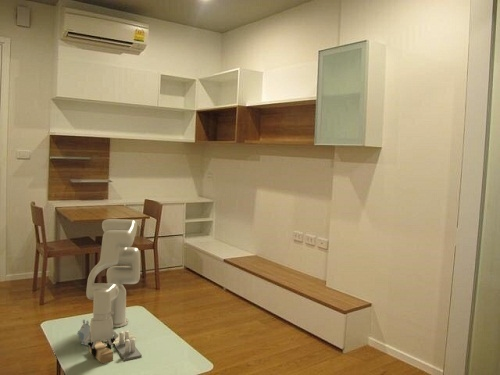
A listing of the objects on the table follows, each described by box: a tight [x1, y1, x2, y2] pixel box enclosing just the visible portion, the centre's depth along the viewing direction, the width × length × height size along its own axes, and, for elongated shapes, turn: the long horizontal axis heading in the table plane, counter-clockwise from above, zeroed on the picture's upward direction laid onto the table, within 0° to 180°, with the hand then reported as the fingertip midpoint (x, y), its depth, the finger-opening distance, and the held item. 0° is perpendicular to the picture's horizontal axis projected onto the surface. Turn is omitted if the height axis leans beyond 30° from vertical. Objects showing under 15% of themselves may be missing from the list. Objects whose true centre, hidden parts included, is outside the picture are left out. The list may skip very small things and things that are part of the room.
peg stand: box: [114, 330, 143, 362], centre depth 207 cm, size 20×8×7 cm, turn 31°
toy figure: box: [76, 319, 91, 346], centre depth 211 cm, size 11×6×12 cm, turn 63°
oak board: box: [88, 341, 114, 364], centre depth 200 cm, size 14×5×4 cm, turn 43°
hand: (101, 353), depth 200 cm, fingers closed on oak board, 5 cm apart
